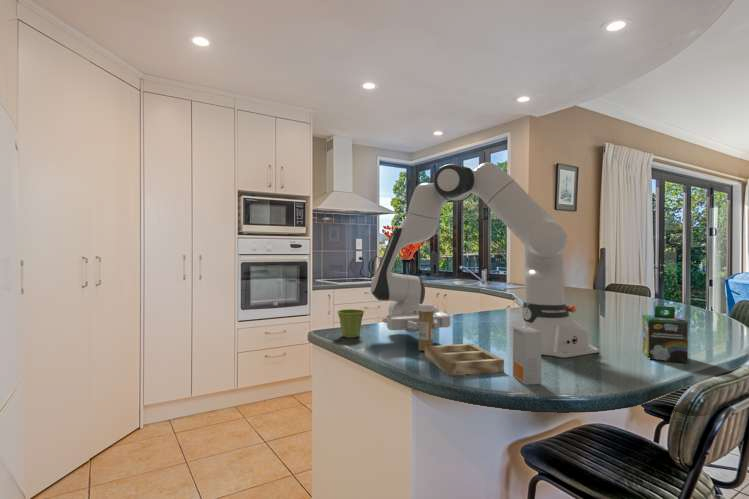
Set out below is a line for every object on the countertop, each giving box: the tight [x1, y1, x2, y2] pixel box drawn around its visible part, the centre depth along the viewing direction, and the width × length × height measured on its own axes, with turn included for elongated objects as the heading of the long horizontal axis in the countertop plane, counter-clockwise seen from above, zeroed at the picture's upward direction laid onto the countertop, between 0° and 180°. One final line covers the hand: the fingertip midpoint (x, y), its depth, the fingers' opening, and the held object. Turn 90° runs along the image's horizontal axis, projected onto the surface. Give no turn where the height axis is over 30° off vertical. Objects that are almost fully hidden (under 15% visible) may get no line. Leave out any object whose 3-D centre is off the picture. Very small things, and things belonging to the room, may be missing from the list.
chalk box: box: [641, 305, 689, 364], centre depth 111 cm, size 9×9×15 cm
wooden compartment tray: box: [424, 343, 505, 377], centre depth 104 cm, size 15×17×3 cm
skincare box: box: [512, 326, 542, 386], centre depth 92 cm, size 6×4×12 cm
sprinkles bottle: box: [417, 303, 434, 352], centre depth 116 cm, size 5×5×13 cm
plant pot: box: [336, 308, 366, 339], centre depth 135 cm, size 9×9×9 cm
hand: (426, 326), depth 115 cm, fingers closed on sprinkles bottle, 4 cm apart
